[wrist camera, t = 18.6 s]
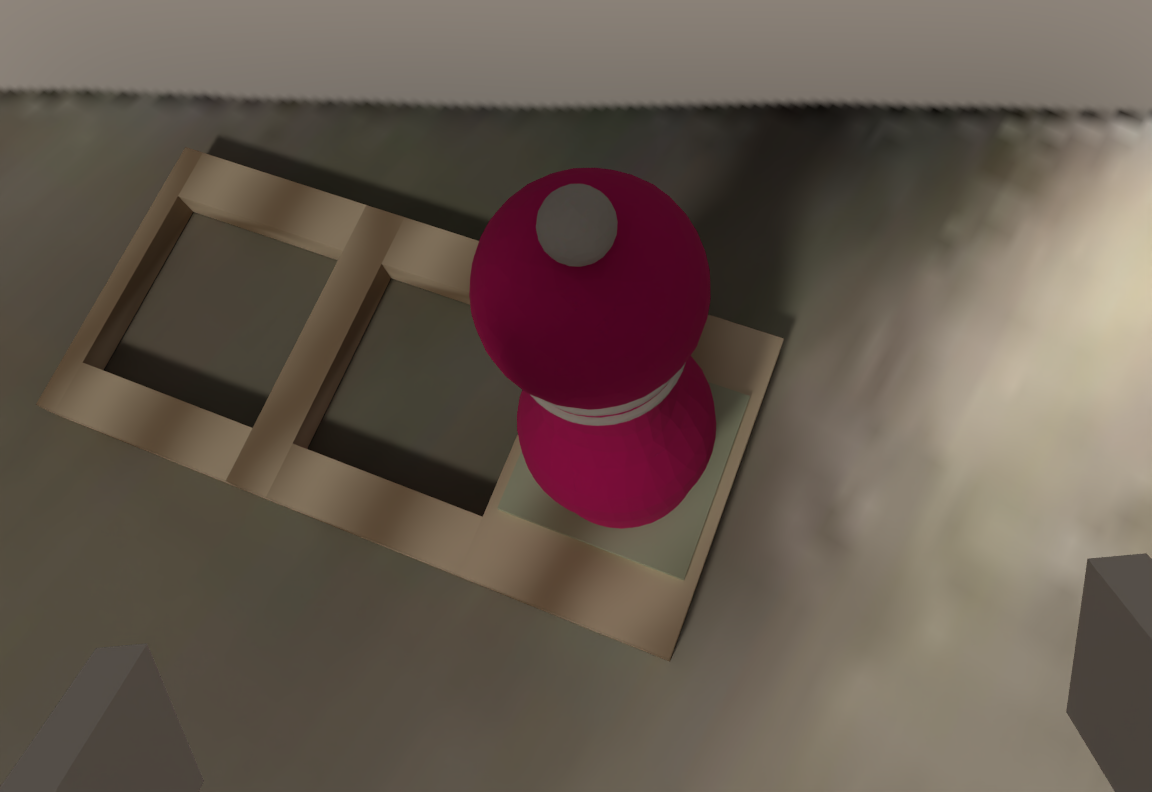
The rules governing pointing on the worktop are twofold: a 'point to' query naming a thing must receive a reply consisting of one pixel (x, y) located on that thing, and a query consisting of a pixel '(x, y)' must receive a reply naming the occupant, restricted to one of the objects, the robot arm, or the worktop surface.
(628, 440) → the pepper mill
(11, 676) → the worktop surface
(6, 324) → the worktop surface
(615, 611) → the board
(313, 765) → the worktop surface
